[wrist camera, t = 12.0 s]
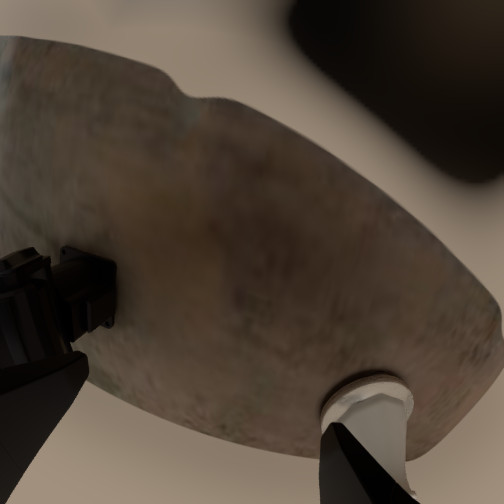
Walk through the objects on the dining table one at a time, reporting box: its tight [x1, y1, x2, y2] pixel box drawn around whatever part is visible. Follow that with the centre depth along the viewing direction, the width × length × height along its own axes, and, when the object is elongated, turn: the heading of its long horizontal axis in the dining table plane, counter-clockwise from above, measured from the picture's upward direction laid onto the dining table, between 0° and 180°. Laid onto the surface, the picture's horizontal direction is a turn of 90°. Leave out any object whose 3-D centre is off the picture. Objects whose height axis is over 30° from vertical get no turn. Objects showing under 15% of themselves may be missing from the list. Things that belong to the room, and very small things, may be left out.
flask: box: [336, 393, 417, 500], centre depth 15 cm, size 7×7×10 cm
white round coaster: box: [320, 371, 414, 434], centre depth 21 cm, size 9×9×2 cm
